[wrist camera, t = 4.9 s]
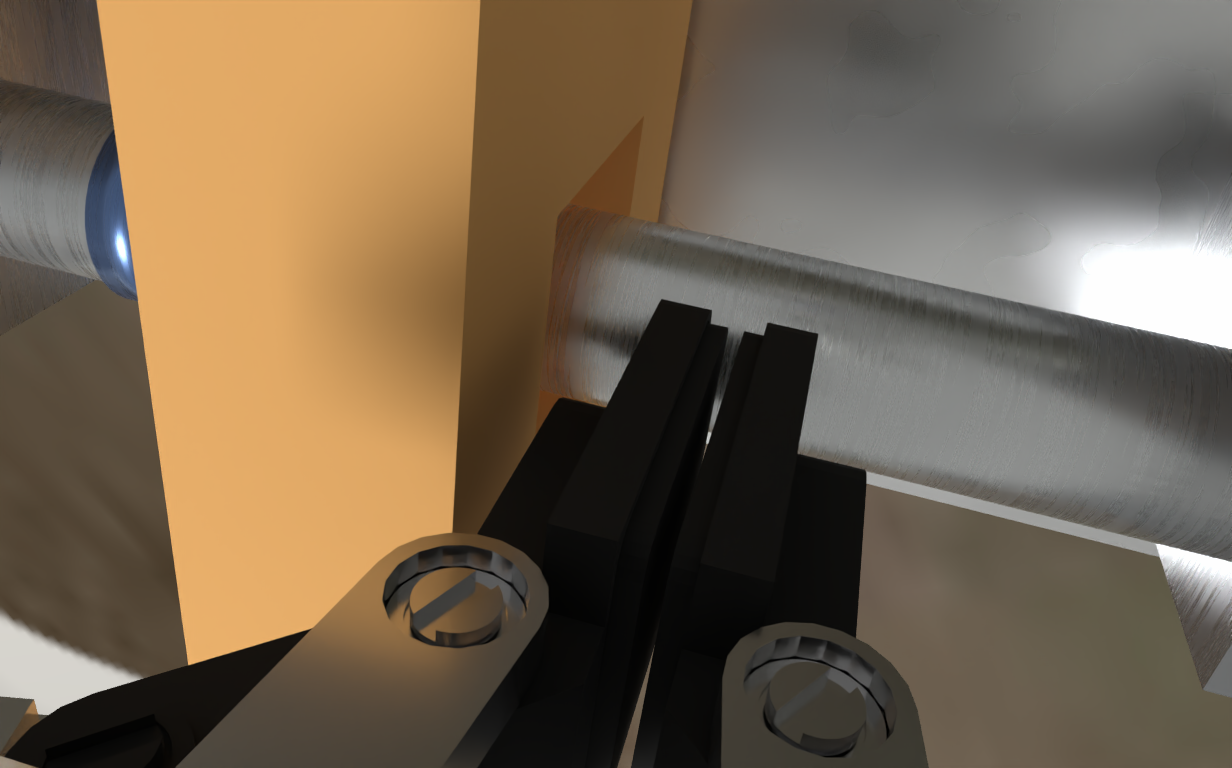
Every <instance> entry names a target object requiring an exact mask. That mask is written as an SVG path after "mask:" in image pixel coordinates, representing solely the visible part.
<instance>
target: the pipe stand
mask: <svg viewBox="0 0 1232 768" xmlns="http://www.w3.org/2000/svg"><path fill="white" fill-rule="evenodd" d="M94 280H100V281H103V282H104V283H105V284H106V285H107V286H108V287H109V288H110V289H111V290H112V291H113V292H115V293H116V294H118V295H120V296H122V297H124V298H127V299H131V300H135V301H138V296H137V289H136V282H135V275H134V267H133V260H132V253H131V246H130V238H129V231H128V224H127V217H126V210H125V202H124V195H123V188H122V181H121V173H120V166H119V159H118V152H117V145H116V137H115V130H114V123H113V116H112V108H111V101H110V94H109V87H108V79H107V72H106V65H105V58H104V51H103V43H102V36H101V29H100V22H99V14H98V7H97V0H0V335H2V334H4V333H6V332H7V331H9V330H11V329H12V328H14V327H16V326H17V325H19V324H21V323H23V322H24V321H26V320H28V319H29V318H31V317H33V316H35V315H36V314H38V313H40V312H41V311H43V310H45V309H46V308H48V307H50V306H52V305H53V304H55V303H57V302H58V301H60V300H62V299H63V298H65V297H67V296H69V295H70V294H72V293H74V292H75V291H77V290H79V289H81V288H82V287H84V286H86V285H87V284H89V283H91V282H92V281H94ZM661 299H664V300H669V301H673V302H678V303H682V304H687V305H691V306H696V307H700V308H705V309H709V310H712V317H711V324H715V325H719V326H724V327H728V336H727V341H726V346H725V351H724V356H723V361H722V366H721V371H720V376H719V381H718V386H717V391H716V396H715V401H714V406H713V411H712V416H711V421H710V426H709V430H708V435H707V440H706V443H707V444H708V443H709V440H710V436H711V433H712V430H713V427H714V424H715V421H716V418H717V414H718V411H719V408H720V405H721V402H722V399H723V396H724V392H725V389H726V386H727V383H728V380H729V377H730V374H731V371H732V367H733V364H734V361H735V358H736V355H737V352H738V349H739V345H740V342H741V339H742V336H743V333H744V331H746V332H750V333H755V334H759V335H764V333H765V329H766V325H767V322H768V323H773V324H777V325H782V326H786V327H791V328H795V329H800V330H804V331H809V332H813V333H818V340H817V346H816V351H815V357H814V363H813V368H812V374H811V380H810V385H809V391H808V396H807V402H806V408H805V413H804V419H803V425H802V430H801V436H800V442H799V447H798V453H797V454H802V455H806V456H810V457H814V458H818V459H822V460H826V461H831V462H835V463H839V464H843V465H847V466H851V467H856V468H860V469H864V470H865V471H866V472H867V482H866V483H867V484H871V485H875V486H879V487H883V488H887V489H891V490H895V491H899V492H903V493H907V494H911V495H915V496H919V497H923V498H927V499H931V500H935V501H939V502H943V503H947V504H951V505H955V506H959V507H963V508H967V509H971V510H975V511H979V512H983V513H987V514H990V515H994V516H998V517H1002V518H1006V519H1010V520H1014V521H1018V522H1022V523H1026V524H1030V525H1034V526H1038V527H1042V528H1046V529H1050V530H1054V531H1058V532H1062V533H1066V534H1070V535H1074V536H1078V537H1082V538H1086V539H1090V540H1094V541H1098V542H1102V543H1106V544H1110V545H1114V546H1118V547H1122V548H1126V549H1130V550H1134V551H1138V552H1142V553H1146V554H1150V555H1154V556H1158V557H1160V558H1161V561H1162V565H1163V568H1164V571H1165V574H1166V577H1167V580H1168V583H1169V586H1170V589H1171V593H1172V596H1173V599H1174V602H1175V605H1176V608H1177V611H1178V614H1179V617H1180V621H1181V624H1182V627H1183V630H1184V633H1185V636H1186V639H1187V642H1188V645H1189V649H1190V652H1191V655H1192V658H1193V661H1194V664H1195V667H1196V670H1197V673H1198V677H1199V680H1200V683H1201V686H1202V689H1203V690H1205V691H1209V692H1213V693H1216V694H1220V695H1224V696H1228V697H1231V698H1232V0H693V2H692V8H691V14H690V20H689V27H688V33H687V39H686V46H685V52H684V58H683V65H682V71H681V77H680V84H679V90H678V96H677V102H676V109H675V115H674V121H673V128H672V134H671V140H670V147H669V153H668V159H667V166H666V172H665V178H664V184H663V191H662V197H661V203H660V210H659V216H658V222H657V223H656V222H651V221H647V220H642V219H637V218H633V217H628V216H624V215H619V214H615V213H610V212H605V211H601V210H596V209H592V208H587V207H583V206H578V205H574V204H568V205H567V206H566V207H565V208H564V209H563V211H562V212H561V213H560V214H559V215H558V217H557V227H556V237H555V246H554V256H553V266H552V276H551V285H550V295H549V305H548V315H547V325H546V334H545V344H544V354H543V364H542V373H541V383H540V390H542V391H546V392H550V393H554V394H558V395H562V396H566V397H570V398H574V399H578V400H582V401H586V402H590V403H594V404H598V405H602V406H607V404H608V402H609V400H610V398H611V397H612V395H613V393H614V391H615V389H616V387H617V385H618V383H619V381H620V379H621V377H622V375H623V373H624V371H625V369H626V367H627V365H628V363H629V361H630V359H631V357H632V355H633V353H634V351H635V349H636V347H637V345H638V343H639V341H640V339H641V337H642V335H643V333H644V331H645V329H646V327H647V325H648V323H649V321H650V319H651V318H652V316H653V314H654V312H655V310H656V308H657V306H658V304H659V302H660V300H661Z"/></svg>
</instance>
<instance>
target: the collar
mask: <svg viewBox="0 0 1232 768" xmlns="http://www.w3.org/2000/svg"><path fill="white" fill-rule="evenodd" d="M692 2H693V0H97V7H98V14H99V22H100V29H101V36H102V43H103V51H104V58H105V65H106V72H107V79H108V87H109V94H110V101H111V108H112V116H113V123H114V130H115V137H116V145H117V152H118V159H119V166H120V173H121V181H122V188H123V195H124V202H125V210H126V217H127V224H128V231H129V238H130V246H131V253H132V260H133V267H134V275H135V282H136V289H137V296H138V303H139V311H140V318H141V325H142V332H143V340H144V347H145V354H146V361H147V369H148V376H149V383H150V390H151V397H152V405H153V412H154V419H155V426H156V434H157V441H158V448H159V455H160V462H161V470H162V477H163V484H164V491H165V499H166V506H167V513H168V520H169V528H170V535H171V542H172V549H173V556H174V564H175V571H176V578H177V585H178V593H179V600H180V607H181V614H182V621H183V629H184V636H185V643H186V650H187V658H188V665H191V664H194V663H198V662H201V661H204V660H208V659H211V658H214V657H218V656H221V655H224V654H228V653H231V652H234V651H238V650H241V649H244V648H248V647H251V646H255V645H258V644H261V643H265V642H268V641H271V640H275V639H278V638H281V637H285V636H288V635H291V634H295V633H298V632H301V631H305V630H308V629H311V628H313V627H314V626H315V625H316V624H317V623H318V622H319V621H320V620H321V619H322V618H323V617H324V616H325V615H326V614H327V613H328V612H329V611H330V610H331V609H332V608H333V607H334V606H335V605H336V604H337V603H338V602H339V601H340V600H341V599H342V598H343V597H344V596H345V595H346V594H347V593H348V592H349V591H350V590H351V589H352V588H353V587H354V586H355V585H356V584H357V583H358V581H359V580H360V579H361V578H362V577H363V576H364V575H365V574H366V573H367V572H368V571H369V570H370V569H371V568H372V567H373V566H374V565H375V564H376V563H377V562H378V561H379V560H381V559H382V558H383V557H385V556H386V555H387V554H389V553H390V552H392V551H393V550H394V549H396V548H397V547H399V546H401V545H404V544H406V543H409V542H411V541H413V540H416V539H418V538H421V537H426V536H432V535H438V534H444V533H466V534H477V533H478V531H479V530H480V528H481V526H482V525H483V523H484V521H485V520H486V518H487V516H488V514H489V513H490V511H491V509H492V508H493V506H494V504H495V503H496V501H497V499H498V498H499V496H500V494H501V493H502V491H503V489H504V488H505V486H506V484H507V483H508V481H509V479H510V478H511V476H512V474H513V472H514V471H515V469H516V467H517V466H518V464H519V462H520V461H521V459H522V457H523V456H524V454H525V452H526V451H527V449H528V447H529V446H530V444H531V442H532V441H533V439H534V437H535V436H536V434H537V432H538V430H539V429H540V427H541V425H542V424H543V422H544V420H545V419H546V417H547V415H548V414H549V412H550V410H551V409H552V407H553V405H554V404H555V403H556V401H557V400H558V399H559V398H562V397H564V398H569V399H573V400H577V401H581V402H585V403H589V404H594V403H590V402H586V401H582V400H578V399H574V398H570V397H566V396H562V395H558V394H554V393H550V392H546V391H542V390H540V383H541V373H542V364H543V354H544V344H545V334H546V325H547V315H548V305H549V295H550V285H551V276H552V266H553V256H554V246H555V237H556V227H557V217H558V215H559V214H560V213H561V212H562V211H563V209H564V208H565V207H566V206H567V205H568V204H574V205H578V206H583V207H587V208H592V209H596V210H601V211H605V212H610V213H615V214H619V215H624V216H628V217H633V218H637V219H642V220H647V221H651V222H656V223H657V222H658V216H659V210H660V203H661V197H662V191H663V184H664V178H665V172H666V166H667V159H668V153H669V147H670V140H671V134H672V128H673V121H674V115H675V109H676V102H677V96H678V90H679V84H680V77H681V71H682V65H683V58H684V52H685V46H686V39H687V33H688V27H689V20H690V14H691V8H692ZM594 405H598V404H594ZM598 406H602V405H598ZM602 407H606V406H602Z"/></svg>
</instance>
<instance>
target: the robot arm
mask: <svg viewBox="0 0 1232 768" xmlns="http://www.w3.org/2000/svg"><path fill="white" fill-rule="evenodd" d="M711 317H712V310H709V309H705V308H700V307H696V306H691V305H687V304H682V303H678V302H673V301H669V300H664V299H661V300H660V302H659V304H658V306H657V308H656V310H655V312H654V314H653V316H652V318H651V319H650V321H649V323H648V325H647V327H646V329H645V331H644V333H643V335H642V337H641V339H640V341H639V343H638V345H637V347H636V349H635V351H634V353H633V355H632V357H631V359H630V361H629V363H628V365H627V367H626V369H625V371H624V373H623V375H622V377H621V379H620V381H619V383H618V385H617V387H616V389H615V391H614V393H613V395H612V397H611V398H610V400H609V402H608V404H607V406H606V407H602V406H598V405H594V404H589V403H585V402H581V401H577V400H573V399H569V398H564V397H562V398H559V399H558V400H557V401H556V403H555V404H554V405H553V407H552V409H551V410H550V412H549V414H548V415H547V417H546V419H545V420H544V422H543V424H542V425H541V427H540V429H539V430H538V432H537V434H536V436H535V437H534V439H533V441H532V442H531V444H530V446H529V447H528V449H527V451H526V452H525V454H524V456H523V457H522V459H521V461H520V462H519V464H518V466H517V467H516V469H515V471H514V472H513V474H512V476H511V478H510V479H509V481H508V483H507V484H506V486H505V488H504V489H503V491H502V493H501V494H500V496H499V498H498V499H497V501H496V503H495V504H494V506H493V508H492V509H491V511H490V513H489V514H488V516H487V518H486V520H485V521H484V523H483V525H482V526H481V528H480V530H479V531H478V533H477V534H466V533H444V534H438V535H432V536H426V537H421V538H418V539H416V540H413V541H411V542H409V543H406V544H404V545H401V546H399V547H397V548H396V549H394V550H393V551H392V552H390V553H389V554H387V555H386V556H385V557H383V558H382V559H381V560H379V561H378V562H377V563H376V564H375V565H374V566H373V567H372V568H371V569H370V570H369V571H368V572H367V573H366V574H365V575H364V576H363V577H362V578H361V579H360V580H359V581H358V583H357V584H356V585H355V586H354V587H353V588H352V589H351V590H350V591H349V592H348V593H347V594H346V595H345V596H344V597H343V598H342V599H341V600H340V601H339V602H338V603H337V604H336V605H335V606H334V607H333V608H332V609H331V610H330V611H329V612H328V613H327V614H326V615H325V616H324V617H323V618H322V619H321V620H320V621H319V622H318V623H317V624H316V625H315V626H314V627H313V628H311V629H308V630H305V631H301V632H298V633H295V634H291V635H288V636H285V637H281V638H278V639H275V640H271V641H268V642H265V643H261V644H258V645H255V646H251V647H248V648H244V649H241V650H238V651H234V652H231V653H228V654H224V655H221V656H218V657H214V658H211V659H208V660H204V661H201V662H198V663H194V664H191V665H188V666H184V667H181V668H177V669H174V670H171V671H167V672H164V673H161V674H157V675H154V676H151V677H147V678H144V679H141V680H137V681H134V682H131V683H127V684H124V685H121V686H117V687H114V688H111V689H107V690H104V691H100V692H97V693H94V694H91V695H89V696H87V697H84V698H82V699H79V700H77V701H74V702H72V703H69V704H67V705H65V706H62V707H60V708H59V709H57V710H56V711H54V712H53V713H51V714H50V715H39V714H38V713H37V709H36V705H35V702H34V699H23V698H10V697H0V768H617V766H618V763H619V760H620V756H621V753H622V750H623V747H624V743H625V740H626V737H627V734H628V730H629V727H630V724H631V721H632V717H633V714H634V711H635V707H636V704H637V701H638V698H639V694H640V691H641V688H642V685H643V681H644V678H645V675H646V672H647V668H648V665H649V662H650V658H651V655H652V652H653V649H654V652H653V657H652V663H651V668H650V673H649V678H648V683H647V688H646V694H645V699H644V704H643V709H642V714H641V719H640V724H639V730H638V735H637V740H636V745H635V750H634V755H633V761H632V766H631V768H929V767H928V762H927V757H926V751H925V746H924V741H923V736H922V731H921V726H920V721H919V716H918V710H917V707H916V705H915V702H914V699H913V697H912V694H911V692H910V689H909V686H908V684H907V683H906V682H905V680H904V679H903V678H902V677H901V675H900V674H899V673H898V671H897V670H896V669H895V667H894V666H893V665H892V664H891V663H890V662H889V661H888V660H887V659H886V658H884V657H883V656H882V655H881V654H879V653H878V652H877V651H876V650H874V649H873V648H872V647H871V646H869V645H868V644H866V643H864V642H862V641H860V640H858V639H856V628H857V614H858V599H859V585H860V570H861V555H862V541H863V526H864V511H865V497H866V482H867V472H866V471H865V470H864V469H860V468H856V467H851V466H847V465H843V464H839V463H835V462H831V461H826V460H822V459H818V458H814V457H810V456H806V455H802V454H797V453H798V447H799V442H800V436H801V430H802V425H803V419H804V413H805V408H806V402H807V396H808V391H809V385H810V380H811V374H812V368H813V363H814V357H815V351H816V346H817V340H818V333H813V332H809V331H804V330H800V329H795V328H791V327H786V326H782V325H777V324H773V323H768V322H767V325H766V329H765V333H764V335H759V334H755V333H750V332H746V331H744V333H743V336H742V339H741V342H740V345H739V349H738V352H737V355H736V358H735V361H734V364H733V367H732V371H731V374H730V377H729V380H728V383H727V386H726V389H725V392H724V396H723V399H722V402H721V405H720V408H719V411H718V414H717V418H716V421H715V424H714V427H713V430H712V433H711V436H710V440H709V443H708V446H707V449H706V452H705V455H704V450H705V445H706V440H707V435H708V430H709V426H710V421H711V416H712V411H713V406H714V401H715V396H716V391H717V386H718V381H719V376H720V371H721V366H722V361H723V356H724V351H725V346H726V341H727V336H728V327H724V326H719V325H715V324H711ZM703 455H704V458H703ZM702 460H703V462H702ZM654 645H655V647H654Z"/></svg>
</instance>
